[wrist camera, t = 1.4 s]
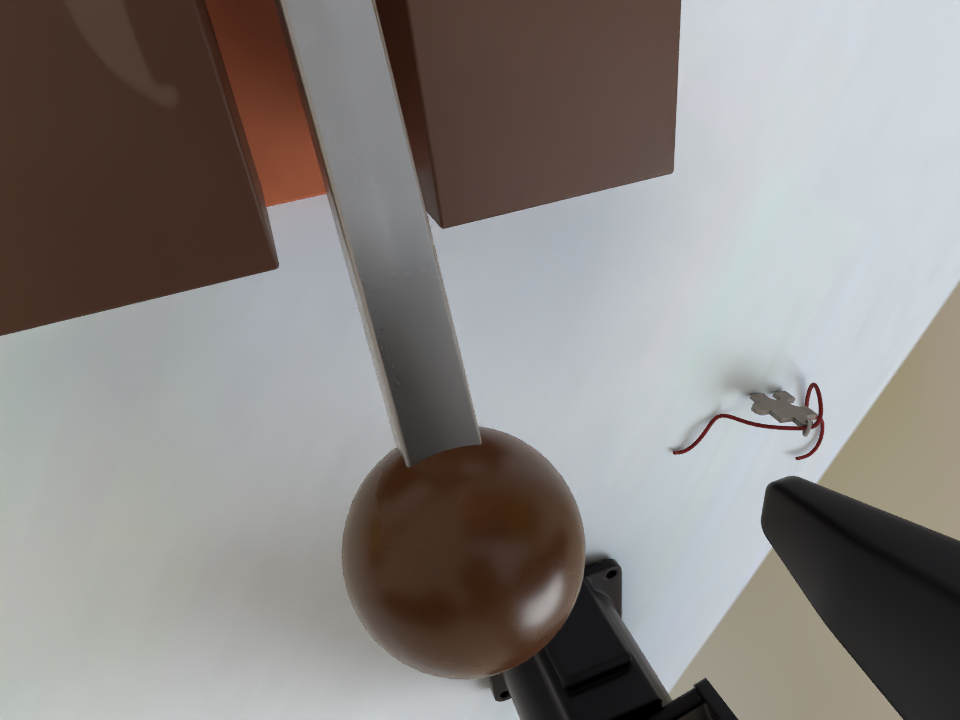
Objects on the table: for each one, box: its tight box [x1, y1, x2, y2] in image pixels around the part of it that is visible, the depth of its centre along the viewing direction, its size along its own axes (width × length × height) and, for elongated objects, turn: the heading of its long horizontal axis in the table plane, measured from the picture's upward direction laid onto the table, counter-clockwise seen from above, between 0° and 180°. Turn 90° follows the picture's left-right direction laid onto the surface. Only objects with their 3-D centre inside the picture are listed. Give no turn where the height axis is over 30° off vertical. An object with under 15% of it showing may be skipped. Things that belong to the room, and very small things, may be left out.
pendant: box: [673, 383, 824, 460], centre depth 26 cm, size 8×4×3 cm, turn 83°
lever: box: [274, 0, 585, 679], centre depth 8 cm, size 16×4×4 cm, turn 7°
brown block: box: [0, 0, 681, 336], centre depth 13 cm, size 6×14×6 cm, turn 97°
